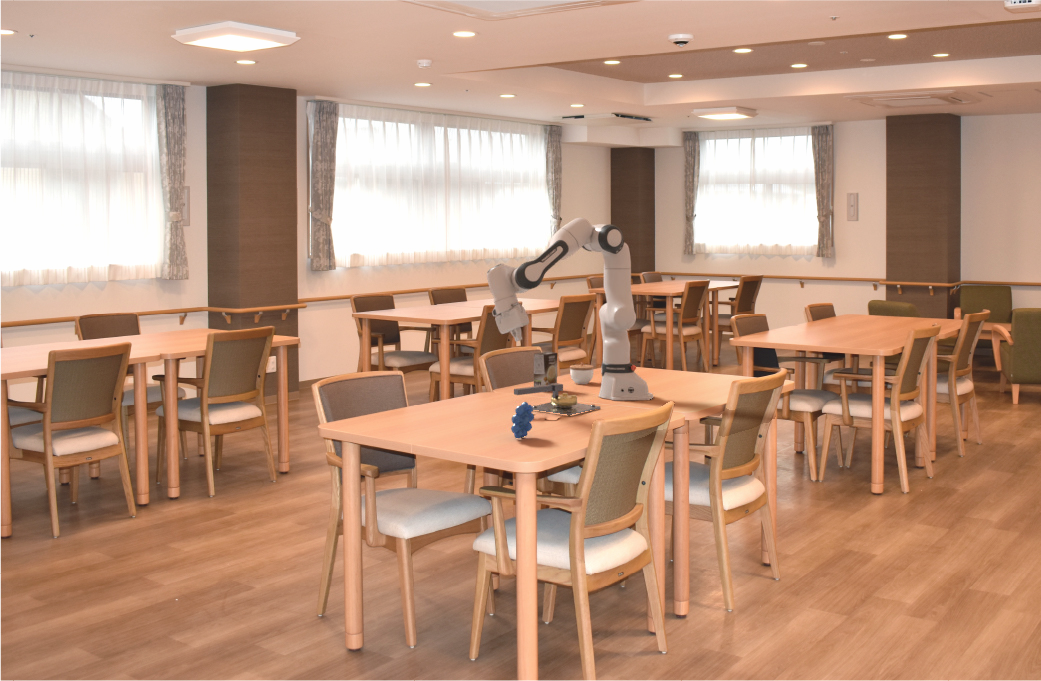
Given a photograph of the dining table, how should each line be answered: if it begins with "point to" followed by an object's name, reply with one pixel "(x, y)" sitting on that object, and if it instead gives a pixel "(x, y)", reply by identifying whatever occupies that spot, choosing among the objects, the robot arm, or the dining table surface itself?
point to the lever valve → (555, 398)
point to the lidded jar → (581, 373)
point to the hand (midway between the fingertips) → (519, 340)
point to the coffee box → (545, 368)
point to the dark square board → (565, 408)
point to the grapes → (522, 420)
